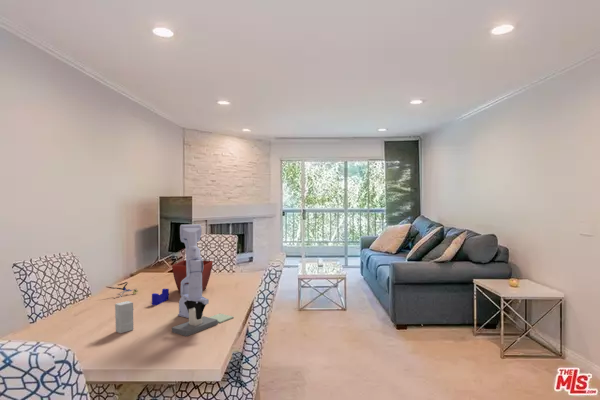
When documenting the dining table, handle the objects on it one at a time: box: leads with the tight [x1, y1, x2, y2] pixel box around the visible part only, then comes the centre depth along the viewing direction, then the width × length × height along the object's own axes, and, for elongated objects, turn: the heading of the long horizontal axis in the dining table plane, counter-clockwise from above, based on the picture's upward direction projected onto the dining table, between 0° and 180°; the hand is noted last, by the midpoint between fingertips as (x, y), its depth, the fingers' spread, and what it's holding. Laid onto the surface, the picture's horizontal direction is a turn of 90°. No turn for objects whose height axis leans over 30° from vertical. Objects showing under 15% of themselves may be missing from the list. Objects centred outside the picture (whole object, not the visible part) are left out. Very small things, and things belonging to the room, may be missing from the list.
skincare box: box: [114, 300, 135, 334], centre depth 167 cm, size 6×4×12 cm
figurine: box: [106, 281, 139, 298], centre depth 224 cm, size 10×9×20 cm
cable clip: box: [151, 288, 170, 306], centre depth 211 cm, size 12×4×6 cm, turn 170°
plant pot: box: [171, 259, 214, 293], centre depth 236 cm, size 19×19×17 cm
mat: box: [208, 313, 235, 324], centre depth 183 cm, size 9×9×1 cm
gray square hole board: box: [171, 315, 219, 337], centre depth 170 cm, size 9×18×2 cm, turn 147°
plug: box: [188, 307, 203, 326], centre depth 170 cm, size 4×4×7 cm
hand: (195, 317), depth 170 cm, fingers closed on plug, 4 cm apart
